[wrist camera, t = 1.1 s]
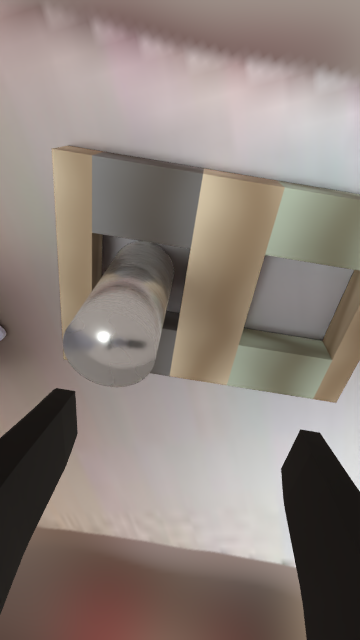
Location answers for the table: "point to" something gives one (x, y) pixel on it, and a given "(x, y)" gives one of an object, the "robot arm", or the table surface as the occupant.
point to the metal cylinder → (122, 318)
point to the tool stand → (214, 263)
